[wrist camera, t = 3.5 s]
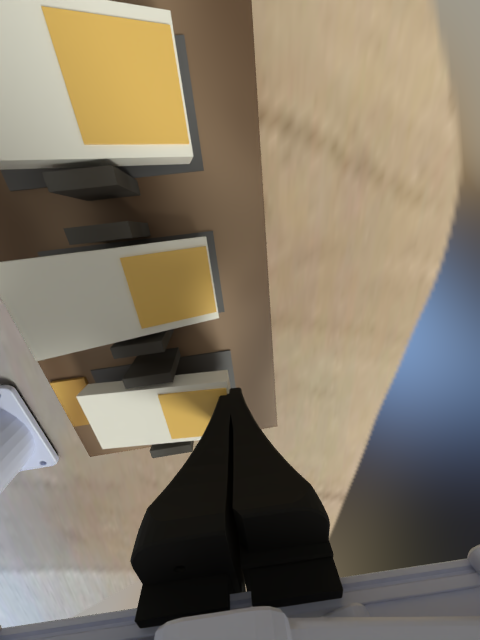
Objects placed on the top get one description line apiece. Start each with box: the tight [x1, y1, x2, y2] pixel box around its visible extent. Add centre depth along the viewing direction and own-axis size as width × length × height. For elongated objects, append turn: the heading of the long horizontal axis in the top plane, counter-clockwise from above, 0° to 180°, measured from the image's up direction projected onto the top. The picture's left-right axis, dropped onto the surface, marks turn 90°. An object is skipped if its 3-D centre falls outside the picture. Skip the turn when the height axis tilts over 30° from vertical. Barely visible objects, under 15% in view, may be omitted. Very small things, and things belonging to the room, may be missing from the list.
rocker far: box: [76, 370, 231, 449], centre depth 13 cm, size 8×4×1 cm, turn 96°
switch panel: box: [0, 0, 277, 458], centre depth 12 cm, size 14×24×5 cm, turn 6°
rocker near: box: [0, 0, 193, 170], centre depth 7 cm, size 8×4×1 cm, turn 96°
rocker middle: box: [0, 236, 219, 361], centre depth 10 cm, size 8×4×1 cm, turn 96°
